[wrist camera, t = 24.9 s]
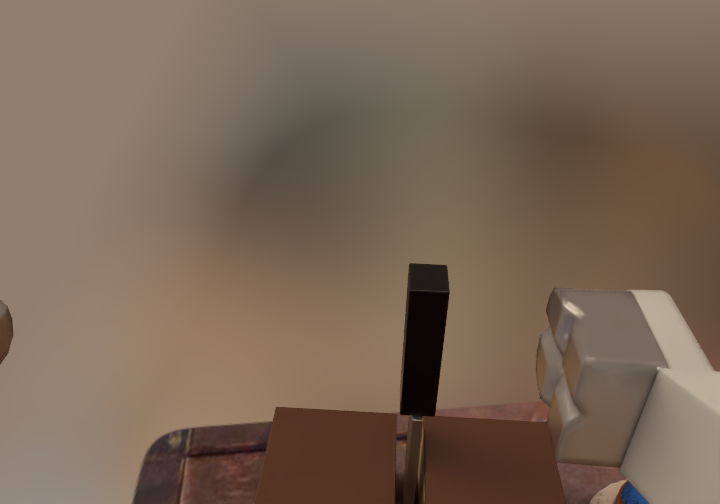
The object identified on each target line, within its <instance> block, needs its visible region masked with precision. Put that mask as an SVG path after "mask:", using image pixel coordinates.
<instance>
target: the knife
mask: <svg viewBox="0 0 720 504" xmlns="http://www.w3.org/2000/svg"><path fill="white" fill-rule="evenodd" d="M448 301H449V281H448V270H447V266H446V265H432V264H412V263H411V264H409V273H408V287H407V301H406V314H405V329H404V343H403V356H402V371H401V384H400V414H401V415H409V423H408V434H407V446H406V458H405V469H404V481H403V504H414V499H415V490H416V480H417V470H418V461H419V451H420V441H421V432H422V422H423V416H430V417H434V416H435V411H436V402H437V394H438V385H439V377H440V369H441V360H442V351H443V343H444V334H445V326H446V318H447V310H448Z"/></svg>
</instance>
